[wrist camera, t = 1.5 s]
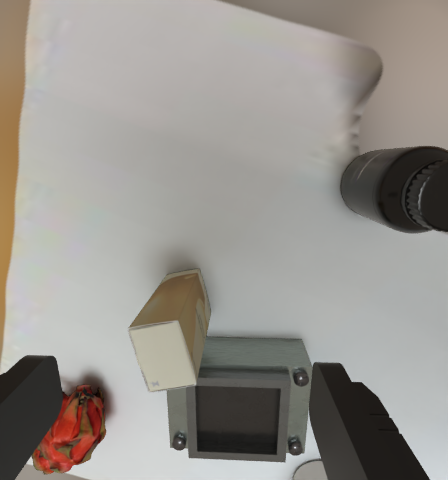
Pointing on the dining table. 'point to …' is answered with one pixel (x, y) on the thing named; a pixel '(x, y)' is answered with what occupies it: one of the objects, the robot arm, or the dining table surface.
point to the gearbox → (244, 401)
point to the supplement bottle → (400, 188)
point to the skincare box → (172, 332)
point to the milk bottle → (311, 471)
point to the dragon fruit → (72, 432)
